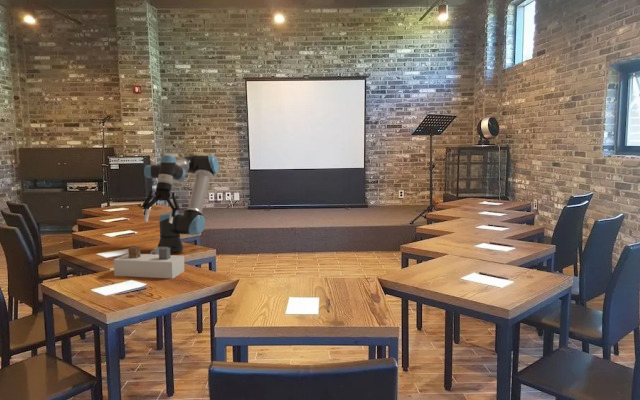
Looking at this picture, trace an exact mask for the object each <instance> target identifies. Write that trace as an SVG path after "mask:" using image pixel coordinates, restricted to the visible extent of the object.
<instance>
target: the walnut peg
mask: <svg viewBox="0 0 640 400" xmlns="http://www.w3.org/2000/svg"><path fill="white" fill-rule="evenodd" d="M128 254H129V258H138V257H140V254H141V246H138V245H137V246H133V245H132V246H129V247H128Z"/></svg>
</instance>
